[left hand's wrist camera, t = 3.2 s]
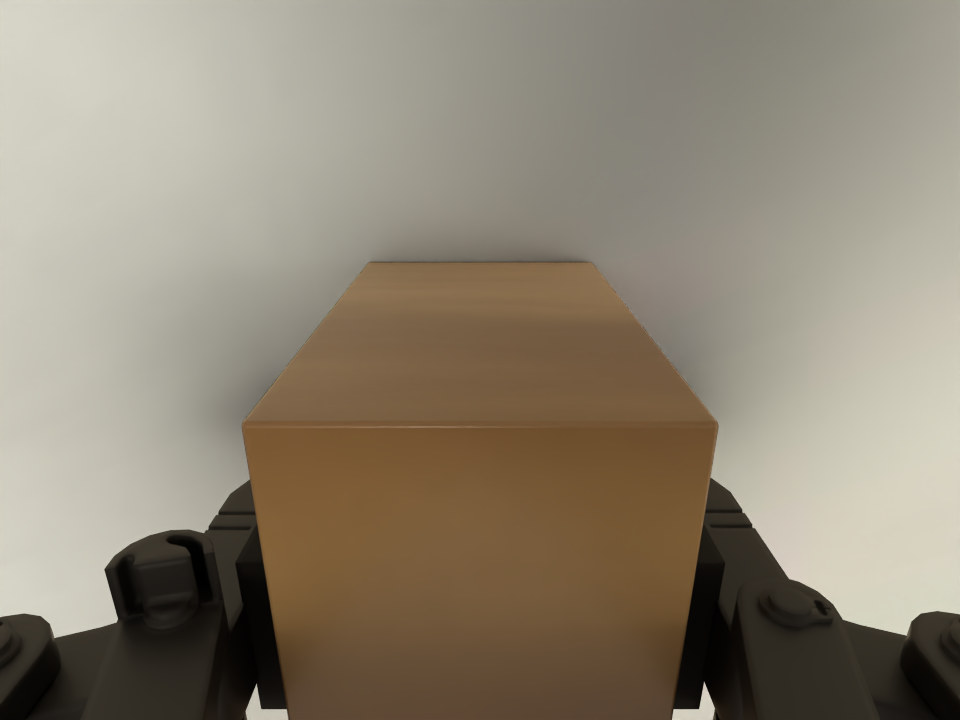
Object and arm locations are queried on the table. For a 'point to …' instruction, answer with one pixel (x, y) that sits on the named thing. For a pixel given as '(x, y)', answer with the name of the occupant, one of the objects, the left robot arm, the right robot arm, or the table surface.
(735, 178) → the table surface
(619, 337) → the bar
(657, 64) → the table surface
